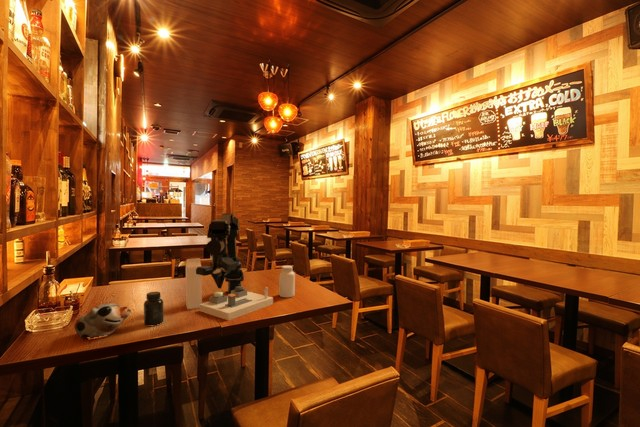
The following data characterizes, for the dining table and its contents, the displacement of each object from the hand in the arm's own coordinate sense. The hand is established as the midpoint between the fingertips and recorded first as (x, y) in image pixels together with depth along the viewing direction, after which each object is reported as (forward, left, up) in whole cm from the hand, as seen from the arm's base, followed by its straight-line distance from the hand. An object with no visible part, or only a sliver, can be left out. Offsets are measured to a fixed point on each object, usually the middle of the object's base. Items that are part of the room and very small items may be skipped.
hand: (219, 288), depth 135 cm
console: (-3, +12, -12) cm, 17 cm away
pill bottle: (+3, +39, -12) cm, 41 cm away
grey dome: (-9, +18, -7) cm, 21 cm away
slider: (0, +6, -9) cm, 11 cm away
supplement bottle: (-15, -20, -12) cm, 28 cm away
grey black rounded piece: (-20, -35, -12) cm, 43 cm away
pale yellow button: (-9, +6, -7) cm, 13 cm away
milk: (-20, +1, -12) cm, 23 cm away
